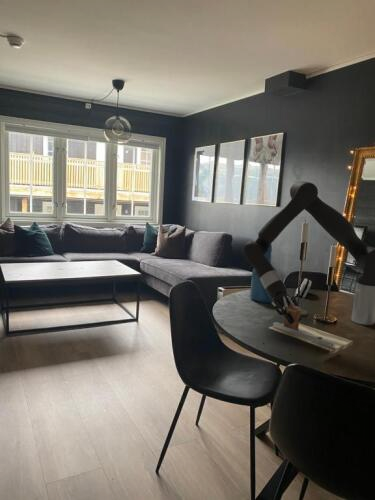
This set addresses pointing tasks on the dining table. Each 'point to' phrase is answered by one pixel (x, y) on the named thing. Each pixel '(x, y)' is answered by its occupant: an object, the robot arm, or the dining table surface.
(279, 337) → the dining table surface
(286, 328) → the rail
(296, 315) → the brown squarish block
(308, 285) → the hinge
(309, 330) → the board
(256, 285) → the wine bottle
